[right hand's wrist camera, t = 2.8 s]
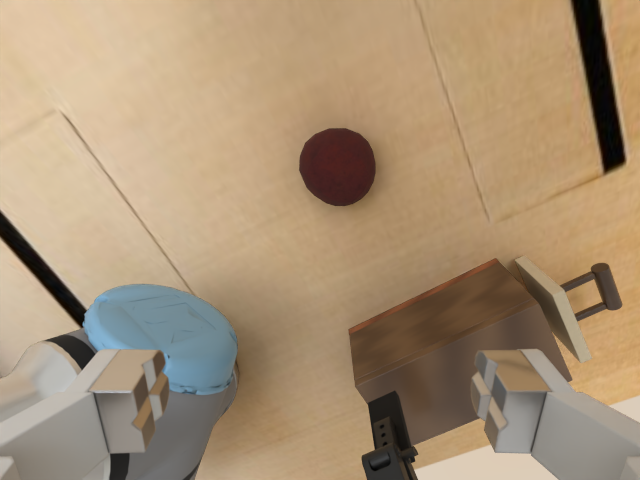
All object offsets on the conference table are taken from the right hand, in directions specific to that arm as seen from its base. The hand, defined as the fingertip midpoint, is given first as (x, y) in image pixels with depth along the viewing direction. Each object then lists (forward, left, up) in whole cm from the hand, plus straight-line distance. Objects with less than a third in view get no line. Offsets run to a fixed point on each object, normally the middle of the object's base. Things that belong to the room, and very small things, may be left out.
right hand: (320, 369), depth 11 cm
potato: (0, +2, -35) cm, 35 cm away
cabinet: (+9, +25, -35) cm, 44 cm away
